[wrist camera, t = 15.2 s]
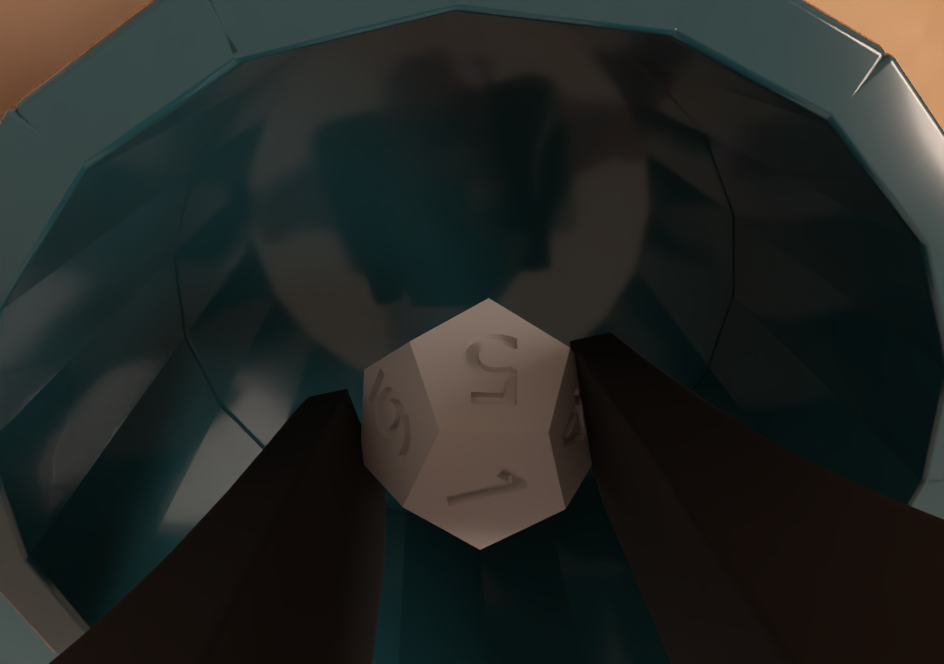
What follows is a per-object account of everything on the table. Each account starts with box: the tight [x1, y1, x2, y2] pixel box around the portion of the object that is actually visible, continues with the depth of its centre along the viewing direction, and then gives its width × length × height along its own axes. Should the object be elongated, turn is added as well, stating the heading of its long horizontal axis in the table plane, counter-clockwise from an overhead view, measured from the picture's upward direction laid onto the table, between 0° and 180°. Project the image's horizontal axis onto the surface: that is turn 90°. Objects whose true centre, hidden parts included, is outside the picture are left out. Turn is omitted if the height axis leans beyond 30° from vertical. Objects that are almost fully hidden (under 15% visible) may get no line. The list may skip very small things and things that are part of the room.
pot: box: [0, 0, 944, 664], centre depth 10 cm, size 12×12×6 cm
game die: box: [361, 298, 592, 550], centre depth 9 cm, size 4×4×3 cm
